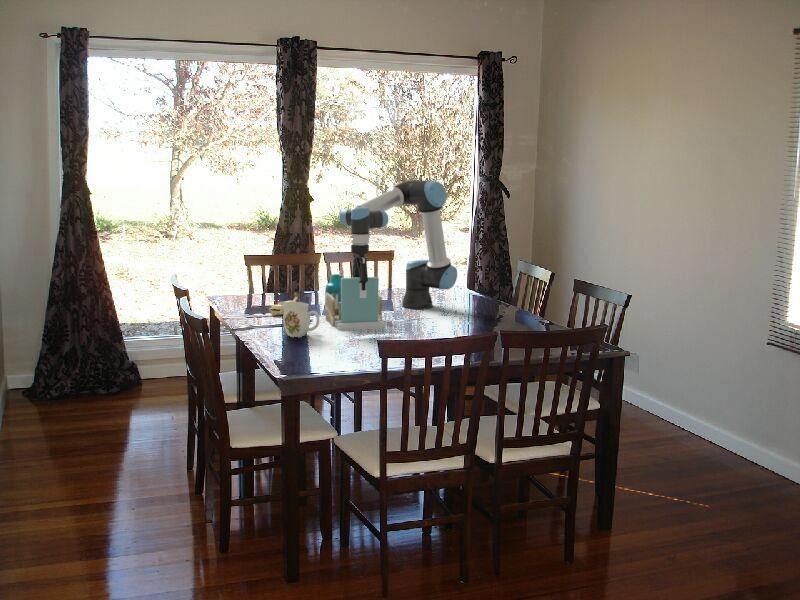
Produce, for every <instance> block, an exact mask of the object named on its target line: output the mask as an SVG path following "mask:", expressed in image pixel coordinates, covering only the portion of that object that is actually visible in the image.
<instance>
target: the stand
mask: <svg viewBox="0 0 800 600" xmlns="http://www.w3.org/2000/svg"><path fill="white" fill-rule="evenodd" d="M334 327H335V328H337V330H338V331H349V330H351V331H352V330H353V331H354V330H369V329H370V330H371V329H385V322H384V320H382V321H381V319H378V321H376V322H355V323H341V320H339V321H335V326H334Z"/></svg>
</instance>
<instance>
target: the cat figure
mask: <svg viewBox="0 0 800 600" xmlns="http://www.w3.org/2000/svg"><path fill="white" fill-rule="evenodd" d="M293 296H294V298H293V300H286V301H284V302H297V300H298V298H299V293H298V292H294V293H293ZM278 302H280V300H279V301H276V302H275V304H273V305H271V307H269V308H268V311H270V313H271V314H272V316H277V315H284V309H283V307H282V306H281V305H280V304H279V303H278ZM299 302H300V303H302V302H301V301H299Z"/></svg>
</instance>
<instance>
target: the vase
mask: <svg viewBox="0 0 800 600" xmlns="http://www.w3.org/2000/svg"><path fill="white" fill-rule="evenodd" d="M341 278H343V275H342V274H338V273H337V274H330V279H329V280H330V281H329V282H328V283H327V284H326V285H325V292H324V305H325V307H326V293H329V294H330V295H331V296H332V297H333V298H334V299H335V315H339V302H341Z"/></svg>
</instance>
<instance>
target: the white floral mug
mask: <svg viewBox="0 0 800 600" xmlns="http://www.w3.org/2000/svg"><path fill="white" fill-rule="evenodd" d="M277 302H278V301H277ZM300 302H301V301H299V302H298V301H296V302H285V301H279V302H278V303H277V304H278V305H279V304H280V305H281V306H282V307H283V309H284V314H282V315H283V316H282V321H283V328H284V330H285V333H286V334H287V336H288V337H289V336H290V338H294V337H298V338H303V337H302V336H304V337H305V335H306V334H307V333H309V332H312V331H315V330H316V329H317V328H318V327H319V325H320V321H321V320H320V315H319V313H318V312H317V310H311V311H309V308H310V304H309V303H306V302H301V303H300ZM313 314H314V315H315V317H316V322H315V324H314V325H313V326H312V327H310V322H311V321H310V320H311V317H310V315H313Z"/></svg>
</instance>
